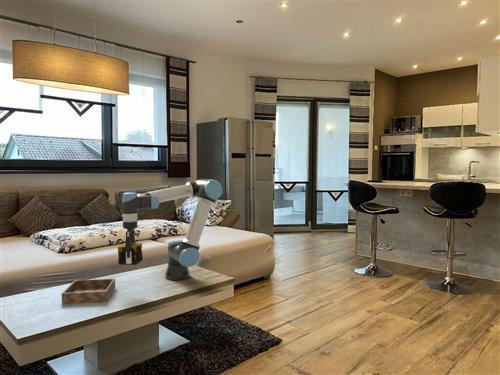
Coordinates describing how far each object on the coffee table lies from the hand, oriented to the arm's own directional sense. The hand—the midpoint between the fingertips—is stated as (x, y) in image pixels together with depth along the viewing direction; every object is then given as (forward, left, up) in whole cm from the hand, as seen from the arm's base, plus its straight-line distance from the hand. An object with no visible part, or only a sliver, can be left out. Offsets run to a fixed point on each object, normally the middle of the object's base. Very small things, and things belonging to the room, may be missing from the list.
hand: (130, 260), depth 206 cm
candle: (0, 0, -1) cm, 1 cm away
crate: (+21, +2, -18) cm, 28 cm away
